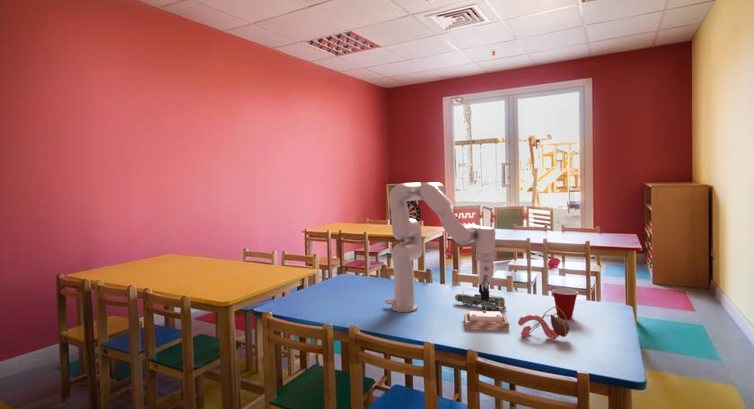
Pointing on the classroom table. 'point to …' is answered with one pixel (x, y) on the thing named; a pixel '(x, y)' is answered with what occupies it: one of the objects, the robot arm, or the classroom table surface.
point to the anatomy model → (558, 325)
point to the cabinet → (486, 324)
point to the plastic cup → (565, 302)
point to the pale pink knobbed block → (485, 316)
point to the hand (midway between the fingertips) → (483, 296)
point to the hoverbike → (481, 301)
